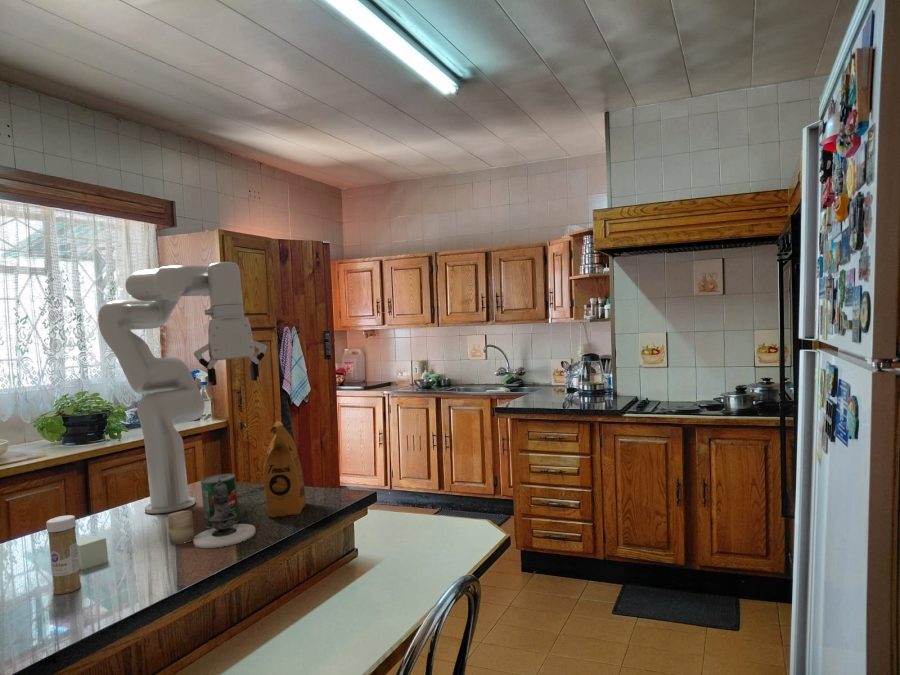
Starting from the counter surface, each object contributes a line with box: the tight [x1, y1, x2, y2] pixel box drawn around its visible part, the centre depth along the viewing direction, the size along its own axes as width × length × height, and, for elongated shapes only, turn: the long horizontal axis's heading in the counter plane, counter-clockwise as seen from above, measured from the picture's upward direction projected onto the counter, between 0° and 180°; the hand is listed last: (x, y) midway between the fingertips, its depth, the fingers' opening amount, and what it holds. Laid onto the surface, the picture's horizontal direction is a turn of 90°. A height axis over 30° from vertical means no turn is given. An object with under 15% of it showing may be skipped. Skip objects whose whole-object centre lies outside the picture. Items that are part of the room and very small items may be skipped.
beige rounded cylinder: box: [167, 510, 195, 545], centre depth 142 cm, size 5×5×6 cm
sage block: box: [76, 534, 109, 571], centre depth 131 cm, size 5×5×5 cm
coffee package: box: [262, 420, 307, 518], centre depth 159 cm, size 10×12×22 cm
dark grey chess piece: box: [209, 479, 237, 537], centre depth 141 cm, size 6×6×12 cm
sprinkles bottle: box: [46, 514, 82, 595], centre depth 117 cm, size 5×5×13 cm
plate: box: [192, 523, 256, 549], centre depth 141 cm, size 13×13×1 cm
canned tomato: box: [200, 473, 240, 529], centre depth 153 cm, size 8×8×11 cm
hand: (234, 382), depth 155 cm, fingers open, 9 cm apart
